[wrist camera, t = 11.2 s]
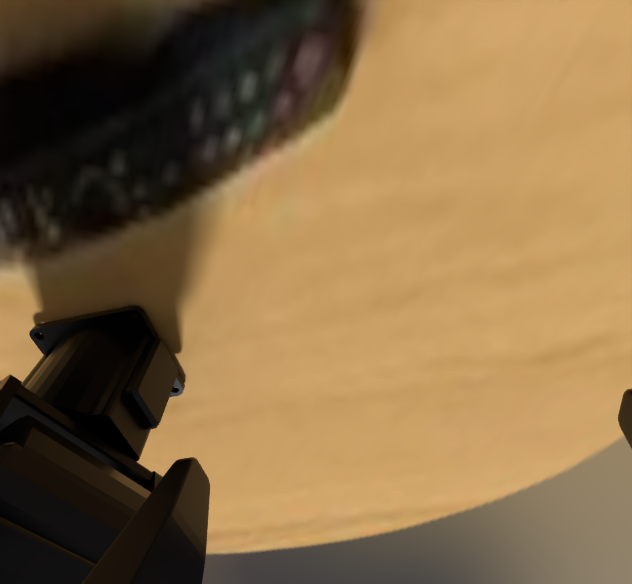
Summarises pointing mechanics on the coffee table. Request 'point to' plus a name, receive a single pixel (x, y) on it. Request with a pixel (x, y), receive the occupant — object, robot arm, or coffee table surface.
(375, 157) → the coffee table surface
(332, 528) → the coffee table surface
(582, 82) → the coffee table surface
